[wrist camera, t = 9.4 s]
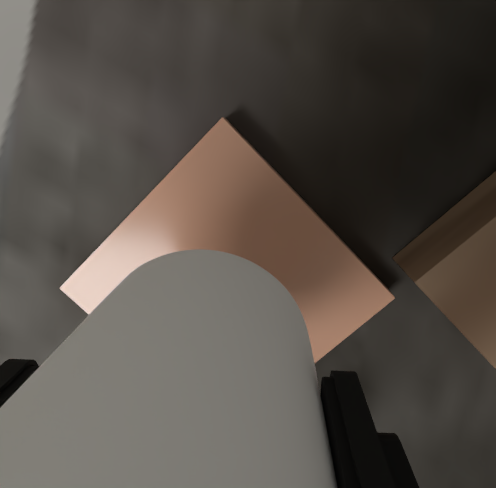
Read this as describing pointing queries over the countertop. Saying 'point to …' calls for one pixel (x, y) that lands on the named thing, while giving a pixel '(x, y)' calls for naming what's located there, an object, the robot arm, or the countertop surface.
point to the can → (175, 388)
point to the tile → (240, 237)
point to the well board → (461, 266)
